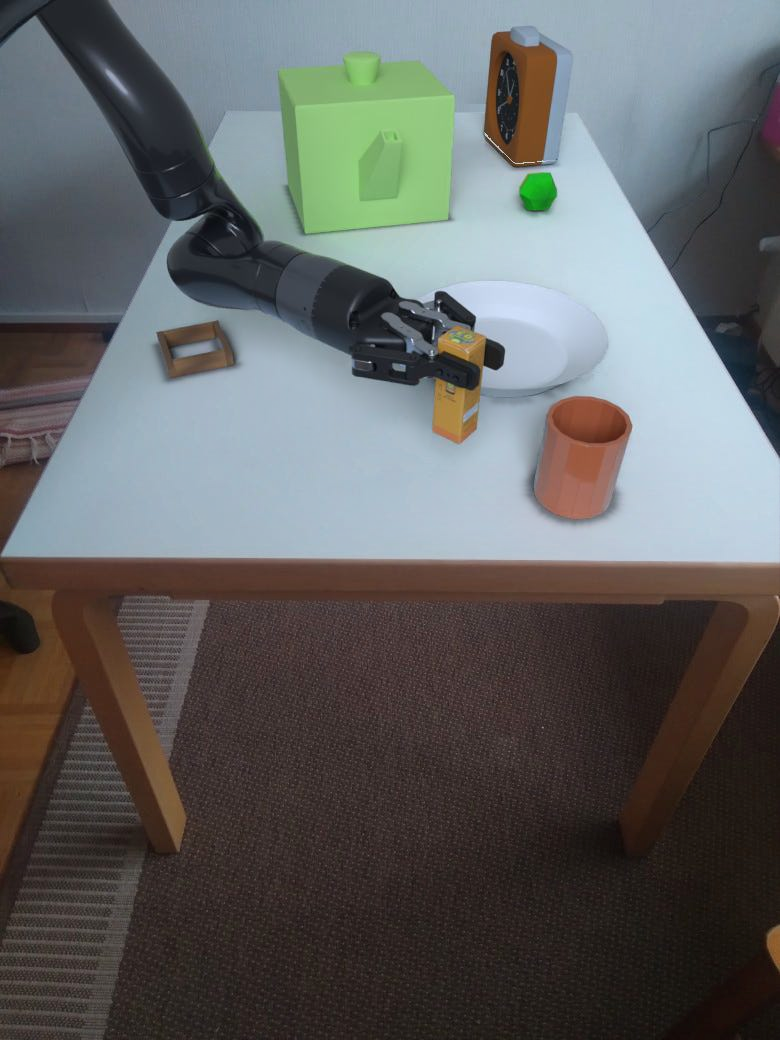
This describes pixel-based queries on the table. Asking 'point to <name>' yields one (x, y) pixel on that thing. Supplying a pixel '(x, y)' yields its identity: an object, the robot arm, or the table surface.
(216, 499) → the table surface
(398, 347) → the robot arm
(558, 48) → the alarm clock
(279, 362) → the table surface
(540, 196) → the green faceted polyhedron
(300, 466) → the table surface
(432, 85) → the teapot
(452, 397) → the supplement box
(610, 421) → the cup
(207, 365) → the wooden frame
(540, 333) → the white plate
